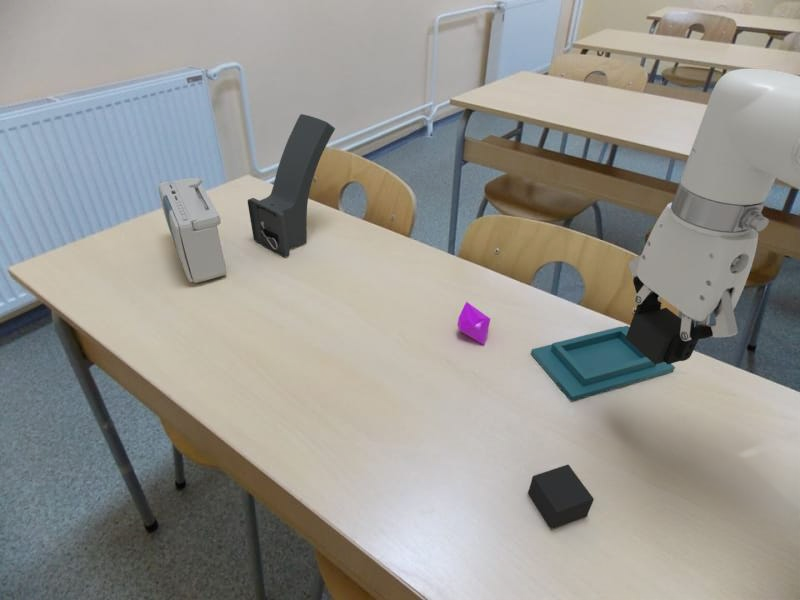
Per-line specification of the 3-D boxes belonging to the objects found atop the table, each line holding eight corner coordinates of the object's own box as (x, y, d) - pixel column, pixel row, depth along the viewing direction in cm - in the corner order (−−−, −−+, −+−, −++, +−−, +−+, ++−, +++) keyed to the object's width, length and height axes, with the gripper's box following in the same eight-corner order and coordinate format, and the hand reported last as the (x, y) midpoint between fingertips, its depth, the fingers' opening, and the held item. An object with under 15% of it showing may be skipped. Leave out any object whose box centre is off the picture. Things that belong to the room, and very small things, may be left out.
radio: (170, 239, 111) (146, 148, 100) (210, 231, 115) (190, 142, 103) (189, 289, 97) (162, 188, 85) (233, 278, 100) (213, 180, 88)
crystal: (453, 338, 86) (456, 316, 84) (464, 320, 90) (466, 299, 88) (483, 347, 85) (486, 325, 82) (493, 328, 89) (496, 307, 86)
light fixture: (345, 229, 116) (340, 120, 102) (284, 259, 106) (269, 141, 92) (313, 215, 122) (304, 109, 108) (252, 241, 111) (233, 128, 97)
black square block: (587, 516, 61) (594, 499, 59) (550, 529, 59) (556, 512, 57) (562, 481, 64) (568, 463, 62) (527, 493, 63) (532, 475, 61)
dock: (673, 371, 81) (678, 360, 79) (570, 401, 75) (574, 389, 74) (625, 329, 89) (629, 318, 88) (530, 353, 84) (533, 341, 82)
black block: (688, 355, 61) (698, 332, 59) (654, 364, 59) (664, 341, 57) (657, 329, 65) (666, 307, 63) (625, 338, 63) (633, 315, 61)
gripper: (824, 240, 46) (740, 385, 57) (678, 170, 59) (632, 299, 70) (763, 254, 44) (688, 403, 55) (625, 178, 57) (586, 310, 67)
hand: (657, 343), depth 62 cm, fingers closed on black block, 5 cm apart
